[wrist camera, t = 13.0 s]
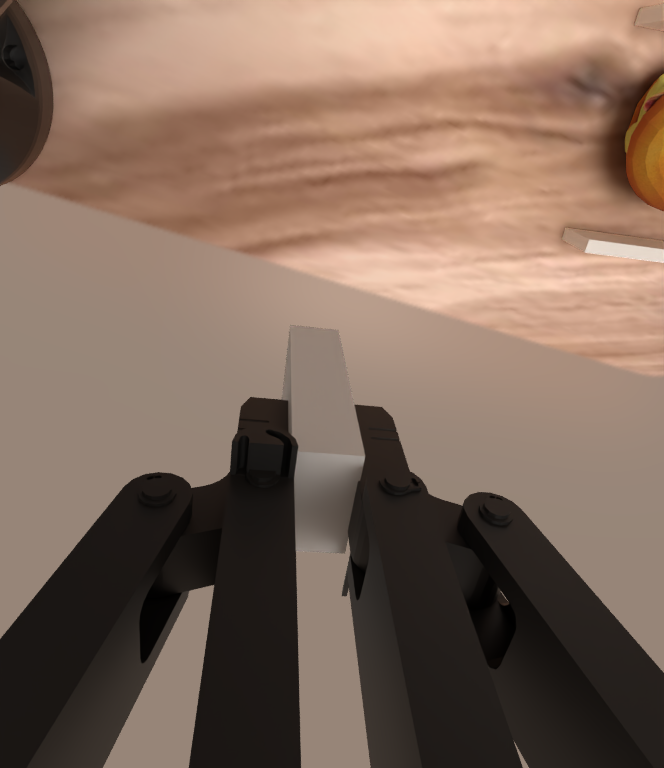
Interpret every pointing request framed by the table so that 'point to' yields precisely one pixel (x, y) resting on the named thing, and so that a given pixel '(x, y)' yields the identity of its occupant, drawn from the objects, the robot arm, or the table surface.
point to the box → (615, 244)
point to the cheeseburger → (647, 147)
